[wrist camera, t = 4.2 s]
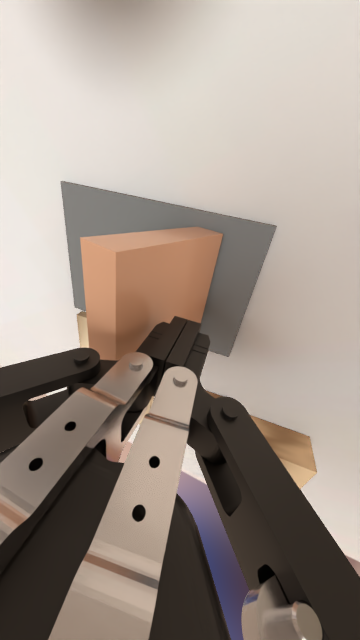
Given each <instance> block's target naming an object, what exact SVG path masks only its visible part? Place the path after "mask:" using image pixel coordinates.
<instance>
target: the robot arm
mask: <svg viewBox="0 0 360 640" xmlns="http://www.w3.org/2000/svg"><path fill="white" fill-rule="evenodd" d="M201 326H202V324H201V323H198V322H195V321H191V320H188V319H184V318H181V317H178V316H174V318H173V319H172V321H171V322H170V324H169V323H166V322H161V323H159V324H157V325H156V326H155V327H154V328H153V330H152V331H151V332H150V334H149V335H148V336H147V337H146V339H145V340H144V341H143V343H142V344H141V345H140V346H139V348H138V349H137V350H136V352H133V353H128V354H126V355H124V356H123V357H122V358H121V359H120V360H102V359H100V355H99V353H98V352H97V351H96V350H94V349H92V348H77V349H73V350H69V351H65V352H61V353H57V354H53V355H49V356H45V357H41V358H37V359H33V360H29V361H25V362H21V363H17V364H13V365H9V366H5V367H2V368H0V452H1V453H0V640H231V638H230V635H229V631H228V628H227V624H226V621H225V618H224V614H223V611H222V607H221V604H220V601H219V597H218V594H217V591H216V587H215V584H214V581H213V578H212V574H211V570H210V567H209V564H208V560H207V557H206V554H205V550H204V547H203V544H202V540H201V537H200V534H199V531H198V527H197V525H196V523H195V520H194V518H193V516H192V514H191V512H190V510H189V509H188V507H187V505H186V504H185V503H184V501H183V500H182V499H181V497H180V496H179V495H178V494H177V488H178V483H179V478H180V473H181V468H182V463H183V458H184V453H185V448H186V443H187V444H188V445H189V446H191V447H192V448H193V449H194V450H195V454H196V458H197V460H198V463H199V465H200V468H201V470H202V473H203V475H204V478H205V480H206V483H207V485H208V488H209V490H210V493H211V495H212V498H213V500H214V503H215V505H216V508H217V510H218V513H219V515H220V518H221V520H222V522H223V525H224V528H225V530H226V533H227V535H228V537H229V540H230V543H231V545H232V548H233V550H234V552H235V555H236V557H237V560H238V562H239V565H240V567H241V570H242V572H243V575H244V577H245V580H246V582H247V585H248V587H249V590H250V591H249V593H248V594H247V596H246V598H245V600H244V604H243V609H242V631H243V637H244V640H360V577H359V576H358V574H357V573H356V571H355V570H354V568H353V567H352V565H351V564H350V562H349V561H348V559H347V558H346V556H345V555H344V553H343V552H342V550H341V549H340V548H339V546H338V545H337V543H336V542H335V540H334V539H333V537H332V536H331V534H330V533H329V531H328V530H327V528H326V527H325V525H324V524H323V522H322V521H321V520H320V518H319V517H318V515H317V514H316V512H315V511H314V509H313V508H312V506H311V505H310V503H309V502H308V500H307V499H306V497H305V496H304V494H303V493H302V491H301V490H300V489H299V487H298V486H297V484H296V483H295V481H294V480H293V478H292V477H291V475H290V474H289V472H288V471H287V469H286V468H285V466H284V465H283V463H282V462H281V461H280V459H279V458H278V456H277V455H276V453H275V452H274V450H273V449H272V447H271V446H270V444H269V443H268V441H267V440H266V438H265V437H264V435H263V434H262V433H261V431H260V430H259V428H258V427H257V425H256V424H255V422H254V421H253V419H252V418H251V416H250V415H249V413H248V412H247V410H246V409H245V408H244V406H243V405H242V404H241V403H240V402H238V401H237V400H235V399H233V398H230V397H218V398H214V397H213V396H211V395H210V394H209V393H207V392H206V391H205V390H204V388H203V387H202V385H201V383H200V376H201V372H202V369H203V366H204V363H205V359H206V356H207V353H208V349H209V346H210V339H209V336H208V335H205V334H202V333H200V330H201ZM64 387H67V390H64V391H61V392H58V393H55V394H52V395H49V396H46V397H43V398H41V399H38V400H34V401H28V400H29V399H31V398H34V397H37V396H40V395H43V394H46V393H49V392H52V391H55V390H58V389H61V388H64ZM152 396H154V397H155V398H154V400H153V403H152V405H151V408H150V410H149V413H148V414H146V415H145V416H144V418H143V420H142V422H141V425H140V427H139V430H138V432H137V434H136V437H135V439H134V442H133V444H132V447H131V449H130V452H129V454H128V456H127V459H126V461H125V463H119V462H118V461H119V459H120V455H121V453H122V450H123V448H124V446H125V445H126V443H127V441H128V440H129V438H130V437H131V435H132V433H133V432H134V430H135V428H136V427H137V425H138V424H139V422H140V420H141V419H142V417H143V415H144V414H145V412H146V410H147V407H148V404H149V402H150V400H151V398H152ZM9 448H10V449H9ZM2 451H3V452H2Z"/></svg>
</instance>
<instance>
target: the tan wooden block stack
mask: <svg viewBox="0 0 360 640" xmlns="http://www.w3.org/2000/svg"><path fill="white" fill-rule="evenodd" d="M205 391H206V390H205ZM206 392H207V393H209V394H210V395H211V396H213V397H214V398H218V397H223V396H220V395H217V394H214V393H211V392H209V391H206ZM250 416H251V415H250ZM251 418H252V419H253V421H254V422H255V424H256V425H257V427H258V428H259V430H260V431H261V433H262V434H263V435H264V437H265V438H266V440H267V441H268V443H269V444H270V446H271V447H272V449H273V450H274V452H275V453H276V455H277V456H278V458H279V459H280V461H281V462H282V463H283V465H284V466H285V468H286V469H287V471H288V472H289V474H290V475H291V477H292V478H293V480H294V481H295V483H296V484H297V486H298V487H299V489H301V488H302V487H303V486H304V485H305V484H306V483H307V482H308V481H309V480H310V479H311V478H312V477H313V476H314V475H315V474H316V473H317V470H316V465H315V461H314V456H313V451H312V447H311V442H310V437H309V436H306V435H303V434H301V433H298V432H295V431H292V430H290V429H287V428H284V427H281V426H279V425H276V424H273V423H270V422H268V421H265V420H262V419H259V418H257V417H254V416H251Z"/></svg>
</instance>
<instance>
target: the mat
mask: <svg viewBox="0 0 360 640" xmlns="http://www.w3.org/2000/svg"><path fill="white" fill-rule="evenodd" d="M61 189H62V198H63V207H64V216H65V225H66V234H67V243H68V252H69V261H70V270H71V279H72V287H73V296H74V305H75V308H78V309H81V310H84V311H86V304H85V291H84V279H83V267H82V254H81V242H80V237H90V236H101V235H112V234H123V233H133V232H144V231H155V230H165V229H176V228H187V227H201V228H205V229H208V230H212V231H215V232H219V233H222V234H223V237H222V241H221V245H220V249H219V253H218V257H217V260H216V264H215V268H214V272H213V276H212V280H211V284H210V288H209V292H208V296H207V300H206V304H205V308H204V312H203V316H202V320H201V324H202V326H201V330H200V333H202V334H205V335H208V336H209V339H210V346H209V349H208V351H211V352H215V353H218V354H221V355H224V356H227V357H229V355H230V352H231V349H232V346H233V344H234V341H235V338H236V336H237V333H238V330H239V327H240V325H241V322H242V319H243V317H244V314H245V311H246V308H247V306H248V303H249V300H250V298H251V295H252V292H253V289H254V287H255V284H256V281H257V279H258V276H259V273H260V270H261V268H262V265H263V262H264V260H265V257H266V254H267V251H268V249H269V246H270V243H271V241H272V238H273V235H274V232H275V230H276V227H277V226H274V225H270V224H265V223H260V222H255V221H251V220H246V219H241V218H236V217H231V216H227V215H222V214H217V213H212V212H207V211H203V210H198V209H193V208H188V207H184V206H179V205H174V204H169V203H164V202H160V201H155V200H150V199H145V198H140V197H136V196H131V195H126V194H121V193H117V192H112V191H107V190H102V189H97V188H93V187H88V186H83V185H78V184H73V183H69V182H63V181H61Z"/></svg>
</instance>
